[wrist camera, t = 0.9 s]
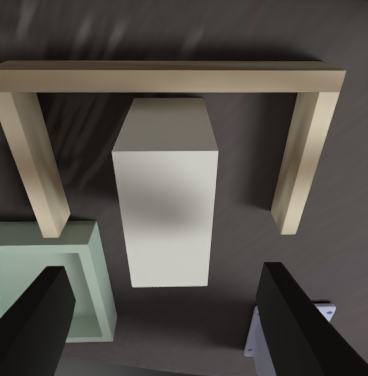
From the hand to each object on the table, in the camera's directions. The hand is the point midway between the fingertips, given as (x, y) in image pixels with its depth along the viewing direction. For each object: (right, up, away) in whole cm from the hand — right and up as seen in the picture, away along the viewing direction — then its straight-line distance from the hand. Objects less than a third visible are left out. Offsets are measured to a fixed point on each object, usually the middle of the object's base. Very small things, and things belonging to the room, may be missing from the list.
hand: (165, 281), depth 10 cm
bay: (0, +5, +8) cm, 10 cm away
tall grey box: (0, +5, +8) cm, 10 cm away
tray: (-11, -4, +14) cm, 19 cm away
